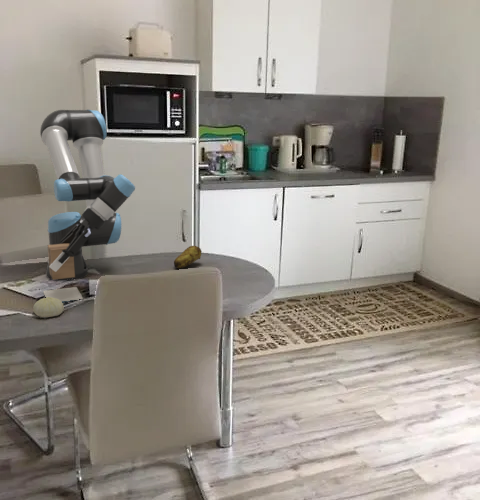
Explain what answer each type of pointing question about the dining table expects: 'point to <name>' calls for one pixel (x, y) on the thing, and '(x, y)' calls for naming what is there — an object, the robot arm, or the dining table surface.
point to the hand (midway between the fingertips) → (50, 266)
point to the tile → (64, 294)
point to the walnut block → (67, 267)
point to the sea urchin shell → (48, 307)
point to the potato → (188, 257)
